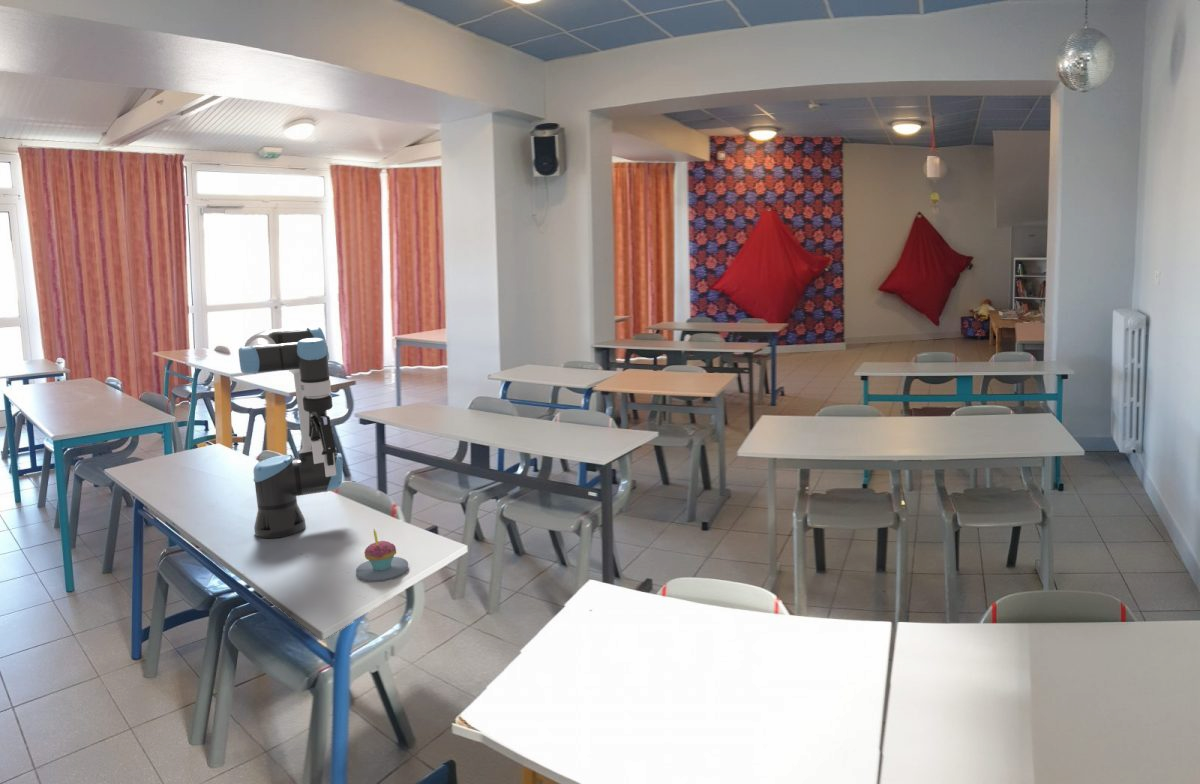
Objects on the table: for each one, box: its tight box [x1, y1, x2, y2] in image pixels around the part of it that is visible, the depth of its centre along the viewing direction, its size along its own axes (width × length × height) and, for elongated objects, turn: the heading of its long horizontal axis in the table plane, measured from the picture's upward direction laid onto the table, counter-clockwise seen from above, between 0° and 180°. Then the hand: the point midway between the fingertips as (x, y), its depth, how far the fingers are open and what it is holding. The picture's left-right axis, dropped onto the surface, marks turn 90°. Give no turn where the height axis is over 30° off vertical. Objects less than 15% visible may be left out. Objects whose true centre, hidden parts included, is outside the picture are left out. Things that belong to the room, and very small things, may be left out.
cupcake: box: [364, 528, 397, 571], centre depth 219 cm, size 9×8×12 cm
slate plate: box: [355, 556, 409, 583], centre depth 221 cm, size 14×14×1 cm
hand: (324, 469), depth 223 cm, fingers open, 13 cm apart
